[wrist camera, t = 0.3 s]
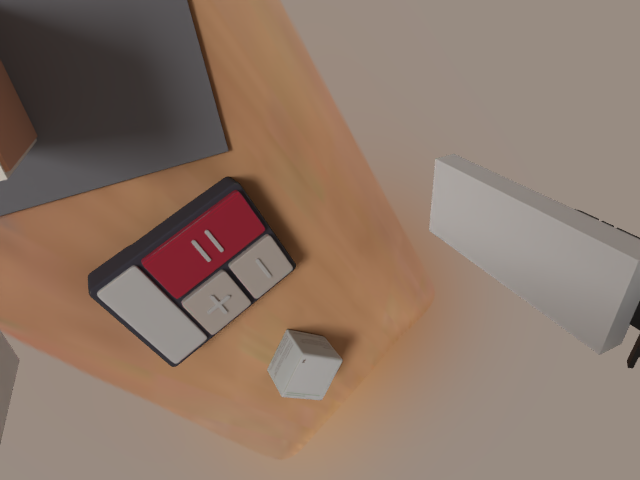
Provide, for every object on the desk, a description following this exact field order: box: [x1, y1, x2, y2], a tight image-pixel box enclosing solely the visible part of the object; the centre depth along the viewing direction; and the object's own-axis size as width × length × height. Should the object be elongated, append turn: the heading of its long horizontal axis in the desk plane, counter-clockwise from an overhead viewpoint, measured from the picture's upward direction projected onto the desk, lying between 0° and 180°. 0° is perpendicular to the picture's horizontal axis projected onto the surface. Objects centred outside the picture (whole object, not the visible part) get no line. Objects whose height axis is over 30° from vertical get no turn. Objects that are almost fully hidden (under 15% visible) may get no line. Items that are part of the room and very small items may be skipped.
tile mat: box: [0, 0, 228, 216], centre depth 29 cm, size 18×20×1 cm
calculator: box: [88, 177, 296, 367], centre depth 38 cm, size 11×4×15 cm
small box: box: [267, 329, 343, 400], centre depth 47 cm, size 6×6×5 cm
